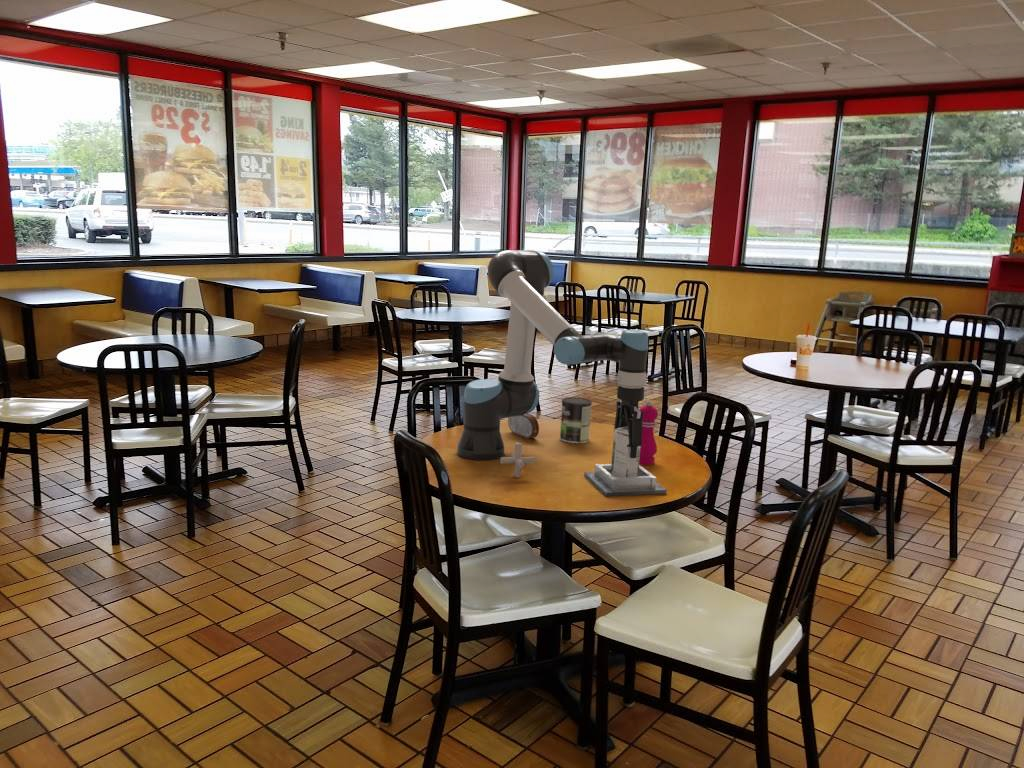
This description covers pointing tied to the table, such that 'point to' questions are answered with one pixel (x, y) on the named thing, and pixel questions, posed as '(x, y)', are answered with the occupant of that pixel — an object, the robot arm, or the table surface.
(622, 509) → the table surface
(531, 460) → the pipe connector
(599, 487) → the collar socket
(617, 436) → the syrup box
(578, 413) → the coffee can
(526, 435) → the tin
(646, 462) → the pepper mill
